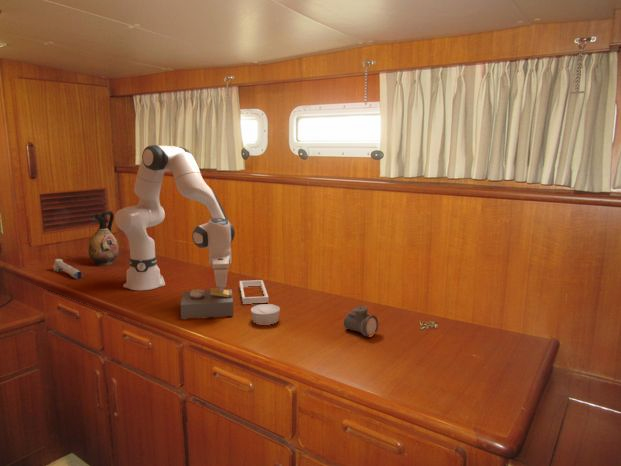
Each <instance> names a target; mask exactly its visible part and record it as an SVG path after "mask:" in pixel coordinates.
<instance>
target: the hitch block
mask: <svg viewBox="0 0 621 466" xmlns="http://www.w3.org/2000/svg"><path fill="white" fill-rule="evenodd" d="M229 290H231V291H232V292H233V289H229ZM190 291H191V290H190ZM190 291H188V290H187V291H183V292H182V295H181V296H182V297H181V301H180V320H186V319H185V318H197V319H204V318H203V317H214V318H224V317H223V316H232V317H234V298H233V297H234V296H233V295H232V298H229V297H223V296H217V295H211V294H210V293H211V289H210V290H204V298H202V299H191V298H190Z"/></svg>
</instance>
